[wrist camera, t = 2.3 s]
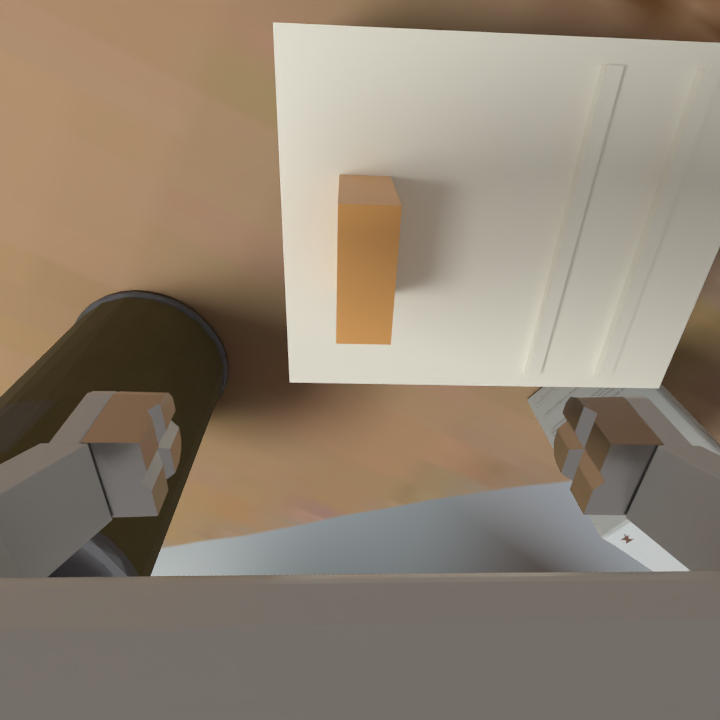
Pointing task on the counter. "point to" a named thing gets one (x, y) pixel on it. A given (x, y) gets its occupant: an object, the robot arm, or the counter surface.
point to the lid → (493, 204)
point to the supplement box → (618, 527)
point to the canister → (128, 374)
